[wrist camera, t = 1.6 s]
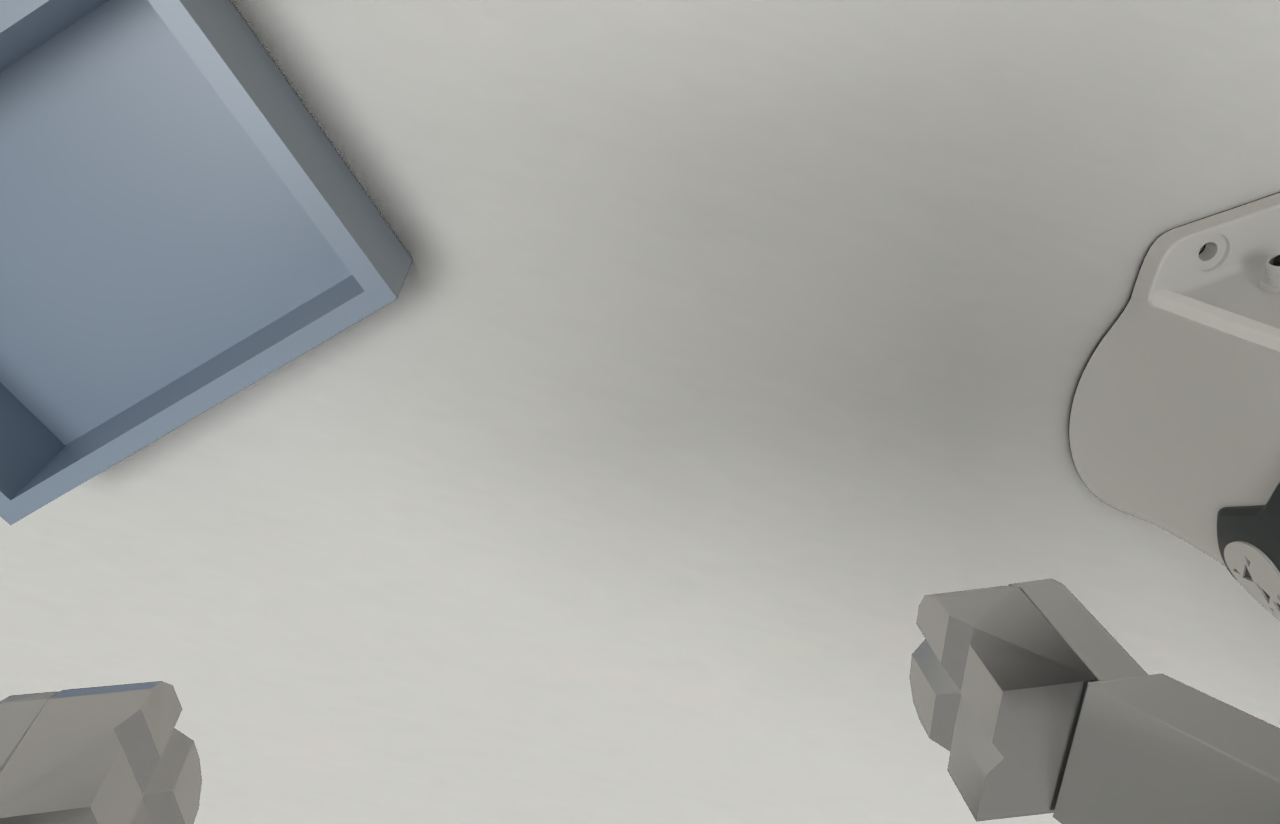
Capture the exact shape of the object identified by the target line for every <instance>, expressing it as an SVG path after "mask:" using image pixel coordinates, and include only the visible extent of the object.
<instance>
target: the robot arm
mask: <svg viewBox="0 0 1280 824" xmlns="http://www.w3.org/2000/svg"><path fill="white" fill-rule="evenodd" d="M1204 244H1206V247H1205V249H1204V251H1203V252H1202V253H1201V254H1200V255H1199V251H1200V249H1201V247H1202V246H1203V245H1204ZM1069 439H1070V448H1071V453H1072V457H1073V461H1074V464H1075V466H1076V469H1077V471H1078V473H1079V475H1080V477H1081V479H1082V480H1083V482H1084V483H1085V485H1086V486H1087V487H1088V488H1089V490H1090V491H1091V492H1092V493H1093V494H1094V495H1095V496H1096V497H1098V498H1099V499H1100V500H1101V501H1103V502H1104V503H1106V504H1107V505H1109V506H1111V507H1113V508H1115V509H1117V510H1119V511H1122V512H1125V513H1128V514H1130V515H1133V516H1136V517H1138V518H1141V519H1143V520H1146V521H1148V522H1150V523H1152V524H1154V525H1156V526H1158V527H1160V528H1162V529H1164V530H1166V531H1168V532H1170V533H1172V534H1173V535H1175V536H1177V537H1179V538H1180V539H1182V540H1184V541H1186V542H1188V543H1189V544H1191V545H1193V546H1194V547H1196V548H1198V549H1199V550H1201V551H1202V552H1204V553H1206V554H1207V555H1209V556H1211V557H1212V558H1214V559H1215V560H1217V561H1218V562H1220V563H1221V564H1223V565H1224V566H1225V567H1227V569H1228V570H1229V572H1230V573H1231V575H1232V576H1233V577H1234V578H1235V579H1236V580H1237V581H1238V582H1239V583H1240V584H1241V585H1242V586H1243V587H1244V589H1245V590H1246V591H1247V592H1248V593H1249V594H1250V595H1251V596H1252V597H1253V598H1254V599H1255V600H1256V601H1257V602H1259V603H1260V604H1261V605H1262V606H1263V607H1264V608H1265V609H1266V610H1267V611H1269V612H1270V613H1271V614H1272V615H1273V616H1275V617H1276V618H1277V619H1278V620H1280V193H1278V194H1275V195H1272V196H1269V197H1266V198H1263V199H1260V200H1257V201H1254V202H1251V203H1248V204H1245V205H1242V206H1239V207H1236V208H1233V209H1231V210H1228V211H1225V212H1222V213H1219V214H1216V215H1213V216H1210V217H1207V218H1204V219H1201V220H1198V221H1195V222H1192V223H1189V224H1186V225H1183V226H1180V227H1178V228H1175V229H1172V230H1170V231H1168V232H1166V233H1164V234H1163V235H1161V236H1160V237H1159V238H1158V239H1157V240H1156V241H1155V242H1154V243H1153V245H1152V246H1151V248H1150V249H1149V251H1148V253H1147V255H1146V257H1145V259H1144V261H1143V264H1142V267H1141V269H1140V272H1139V275H1138V278H1137V281H1136V284H1135V287H1134V290H1133V293H1132V296H1131V299H1130V301H1129V303H1128V304H1127V306H1126V308H1125V309H1124V311H1123V312H1122V314H1121V315H1120V317H1119V318H1118V320H1117V321H1116V322H1115V323H1114V325H1113V326H1112V327H1111V329H1110V330H1109V331H1108V333H1107V334H1106V335H1105V337H1104V338H1103V339H1102V341H1101V342H1100V344H1099V345H1098V347H1097V348H1096V350H1095V352H1094V353H1093V355H1092V357H1091V358H1090V360H1089V362H1088V364H1087V366H1086V368H1085V370H1084V372H1083V374H1082V377H1081V379H1080V381H1079V384H1078V387H1077V390H1076V393H1075V396H1074V400H1073V404H1072V409H1071V415H1070V426H1069ZM916 624H917V626H918V627H919V629H920V631H921V632H922V634H923V635H924V637H925V640H924V641H923V643H922V644H921V645H920V646H919V647H918V648H917V649H916V650H915V652H914V653H913V654H912V659H911V669H910V684H911V691H912V697H913V703H914V706H915V708H916V711H917V714H918V717H919V720H920V722H921V724H922V725H923V727H924V729H925V731H926V733H927V735H928V737H929V738H930V739H932V740H933V741H935V742H936V743H938V744H939V745H941V746H943V747H944V748H946V749H947V750H949V751H950V757H949V764H948V770H947V771H948V772H949V774H950V776H951V778H952V779H953V781H954V783H955V785H956V786H957V788H958V790H959V792H960V793H961V795H962V797H963V799H964V801H965V802H966V804H967V806H968V808H969V809H970V811H971V813H972V815H973V816H974V818H975V820H976V821H984V820H993V819H1002V818H1011V817H1020V816H1029V815H1038V814H1046V813H1054V814H1053V817H1054V818H1055V819H1056V820H1058V821H1059V822H1060V823H1062V824H1280V728H1278V727H1276V726H1274V725H1271V724H1269V723H1267V722H1265V721H1263V720H1261V719H1259V718H1256V717H1254V716H1252V715H1250V714H1248V713H1246V712H1243V711H1241V710H1239V709H1237V708H1235V707H1233V706H1231V705H1228V704H1226V703H1224V702H1222V701H1220V700H1218V699H1216V698H1213V697H1211V696H1209V695H1207V694H1205V693H1203V692H1200V691H1198V690H1196V689H1194V688H1192V687H1190V686H1188V685H1185V684H1183V683H1181V682H1179V681H1177V680H1175V679H1173V678H1170V677H1168V676H1166V675H1164V674H1155V675H1148V674H1147V673H1146V672H1145V671H1144V670H1143V668H1142V667H1141V666H1140V665H1139V664H1138V663H1137V662H1136V661H1135V660H1134V659H1133V658H1132V657H1131V656H1130V655H1129V654H1128V653H1127V651H1126V650H1125V649H1124V648H1123V647H1122V646H1121V645H1120V644H1119V643H1118V642H1117V641H1116V640H1115V639H1114V638H1113V637H1112V635H1111V634H1110V633H1109V632H1108V631H1107V630H1106V629H1105V628H1104V627H1103V626H1102V625H1101V624H1100V623H1099V622H1098V621H1097V620H1096V618H1095V617H1094V616H1093V615H1092V614H1091V613H1090V612H1089V611H1088V610H1087V609H1086V608H1085V607H1084V606H1083V605H1082V604H1081V602H1080V601H1079V600H1078V599H1077V598H1076V597H1075V596H1074V595H1073V594H1072V593H1071V592H1070V591H1069V590H1068V589H1067V588H1066V587H1065V585H1063V584H1062V583H1060V582H1058V581H1056V580H1054V579H1044V580H1037V581H1029V582H1022V583H1014V584H1009V585H1008V586H998V587H990V588H981V589H973V590H964V591H956V592H948V593H939V594H931V595H925V596H924V598H923V600H922V601H921V603H920V605H919V609H918V616H917V622H916ZM181 711H182V707H181V704H180V702H179V699H178V697H177V695H176V692H175V690H174V687H173V685H171V684H168V683H165V682H163V681H158V682H146V683H135V684H124V685H113V686H102V687H91V688H80V689H69V690H62V691H60V692H46V693H35V694H24V695H13V696H9V697H7V698H6V699H4V700H2V701H0V824H193V823H194V821H195V818H196V815H197V812H198V809H199V800H200V792H201V784H202V776H201V767H200V758H199V755H198V752H197V749H196V746H195V743H194V741H193V740H192V739H190V738H189V737H187V736H186V735H184V734H183V733H181V732H180V731H178V730H177V729H175V728H174V727H175V725H176V722H177V720H178V718H179V716H180V713H181Z"/></svg>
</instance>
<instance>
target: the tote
mask: <svg viewBox="0 0 1280 824" xmlns="http://www.w3.org/2000/svg"><path fill="white" fill-rule="evenodd" d="M412 260H413V259H412V258H411V256H410V255H409V253H408V252H407V251H406V249H405V248H404V246H403V245H402V244H401V242H400V241H399V239H398V238H397V236H396V235H395V234H394V232H393V231H392V229H391V228H390V226H389V225H388V224H387V222H386V221H385V219H384V218H383V217H382V215H381V214H380V212H379V211H378V209H377V208H376V207H375V205H374V204H373V202H372V201H371V199H370V198H369V197H368V195H367V194H366V192H365V191H364V189H363V188H362V187H361V185H360V184H359V182H358V181H357V180H356V178H355V177H354V175H353V174H352V172H351V171H350V170H349V168H348V167H347V165H346V164H345V162H344V161H343V160H342V158H341V157H340V155H339V154H338V152H337V151H336V150H335V148H334V147H333V145H332V144H331V143H330V141H329V140H328V138H327V137H326V135H325V134H324V133H323V131H322V130H321V128H320V127H319V125H318V124H317V123H316V121H315V120H314V118H313V117H312V115H311V114H310V113H309V111H308V110H307V108H306V107H305V106H304V104H303V103H302V101H301V100H300V98H299V97H298V96H297V94H296V93H295V91H294V90H293V88H292V87H291V86H290V84H289V83H288V81H287V80H286V79H285V77H284V76H283V74H282V73H281V71H280V70H279V69H278V67H277V66H276V64H275V63H274V61H273V60H272V59H271V57H270V56H269V54H268V53H267V51H266V50H265V49H264V47H263V46H262V44H261V43H260V42H259V40H258V39H257V37H256V36H255V34H254V33H253V32H252V30H251V29H250V27H249V26H248V24H247V23H246V22H245V20H244V19H243V17H242V16H241V14H240V13H239V12H238V10H237V9H236V7H235V6H234V5H233V3H232V2H231V0H0V516H1V517H2V518H3V519H4V520H5V521H6V522H8V523H9V524H10V525H12V524H14V523H15V522H17V521H19V520H20V519H22V518H24V517H26V516H27V515H29V514H31V513H32V512H34V511H36V510H38V509H39V508H41V507H43V506H44V505H46V504H48V503H49V502H51V501H53V500H55V499H56V498H58V497H60V496H61V495H63V494H65V493H66V492H68V491H70V490H72V489H73V488H75V487H77V486H78V485H80V484H82V483H84V482H85V481H87V480H89V479H90V478H92V477H94V476H95V475H97V474H99V473H101V472H102V471H104V470H106V469H107V468H109V467H111V466H113V465H114V464H116V463H118V462H119V461H121V460H123V459H124V458H126V457H128V456H130V455H131V454H133V453H135V452H136V451H138V450H140V449H142V448H143V447H145V446H147V445H148V444H150V443H152V442H153V441H155V440H157V439H159V438H160V437H162V436H164V435H165V434H167V433H169V432H171V431H172V430H174V429H176V428H177V427H179V426H181V425H182V424H184V423H186V422H188V421H189V420H191V419H193V418H194V417H196V416H198V415H199V414H201V413H203V412H205V411H206V410H208V409H210V408H211V407H213V406H215V405H217V404H218V403H220V402H222V401H223V400H225V399H227V398H228V397H230V396H232V395H234V394H235V393H237V392H239V391H240V390H242V389H244V388H246V387H247V386H249V385H251V384H252V383H254V382H256V381H257V380H259V379H261V378H263V377H264V376H266V375H268V374H269V373H271V372H273V371H275V370H276V369H278V368H280V367H281V366H283V365H285V364H286V363H288V362H290V361H292V360H293V359H295V358H297V357H298V356H300V355H302V354H303V353H305V352H307V351H309V350H310V349H312V348H314V347H315V346H317V345H319V344H321V343H322V342H324V341H326V340H327V339H329V338H331V337H332V336H334V335H336V334H338V333H339V332H341V331H343V330H344V329H346V328H348V327H350V326H351V325H353V324H355V323H356V322H358V321H360V320H361V319H363V318H365V317H367V316H368V315H370V314H372V313H373V312H375V311H377V310H379V309H380V308H382V307H384V306H385V305H387V304H389V303H390V302H392V301H394V300H396V299H397V298H398V295H399V293H400V290H401V288H402V285H403V283H404V280H405V278H406V275H407V273H408V270H409V268H410V265H411V263H412Z"/></svg>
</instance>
